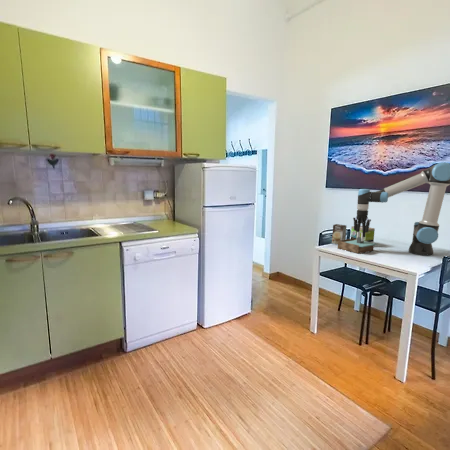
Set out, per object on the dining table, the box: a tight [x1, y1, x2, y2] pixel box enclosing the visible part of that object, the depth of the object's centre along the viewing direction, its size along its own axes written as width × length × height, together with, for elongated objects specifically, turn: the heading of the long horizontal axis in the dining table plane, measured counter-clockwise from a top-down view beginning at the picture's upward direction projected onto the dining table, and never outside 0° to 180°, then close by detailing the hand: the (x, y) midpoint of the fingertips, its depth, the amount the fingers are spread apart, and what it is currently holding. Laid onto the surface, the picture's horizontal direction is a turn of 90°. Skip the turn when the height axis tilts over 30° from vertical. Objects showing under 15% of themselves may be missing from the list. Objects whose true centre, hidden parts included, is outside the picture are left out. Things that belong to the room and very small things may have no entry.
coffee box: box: [331, 223, 347, 245], centre depth 236 cm, size 9×6×16 cm
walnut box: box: [337, 238, 375, 254], centre depth 217 cm, size 18×18×6 cm
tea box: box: [350, 225, 376, 243], centre depth 234 cm, size 15×10×15 cm, turn 25°
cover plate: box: [346, 237, 377, 247], centre depth 214 cm, size 16×16×5 cm
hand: (360, 240), depth 214 cm, fingers closed on cover plate, 3 cm apart
